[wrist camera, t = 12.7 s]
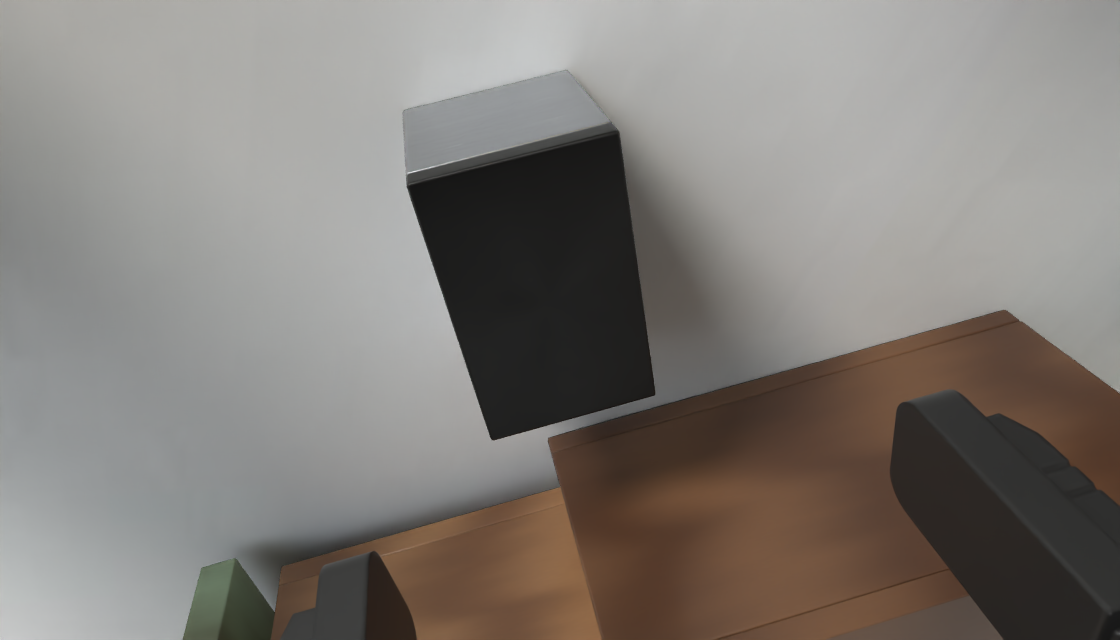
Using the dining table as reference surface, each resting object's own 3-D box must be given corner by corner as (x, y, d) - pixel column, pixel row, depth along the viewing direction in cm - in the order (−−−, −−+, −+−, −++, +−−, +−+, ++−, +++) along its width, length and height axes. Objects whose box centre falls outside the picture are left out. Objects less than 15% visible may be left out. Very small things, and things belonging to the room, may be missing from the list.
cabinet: (605, 655, 33) (672, 902, 26) (546, 436, 25) (619, 702, 17) (952, 551, 35) (1118, 756, 27) (1005, 308, 26) (1270, 502, 18)
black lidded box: (472, 333, 22) (491, 442, 18) (401, 109, 18) (405, 184, 14) (607, 297, 22) (656, 396, 18) (568, 68, 18) (620, 129, 14)
